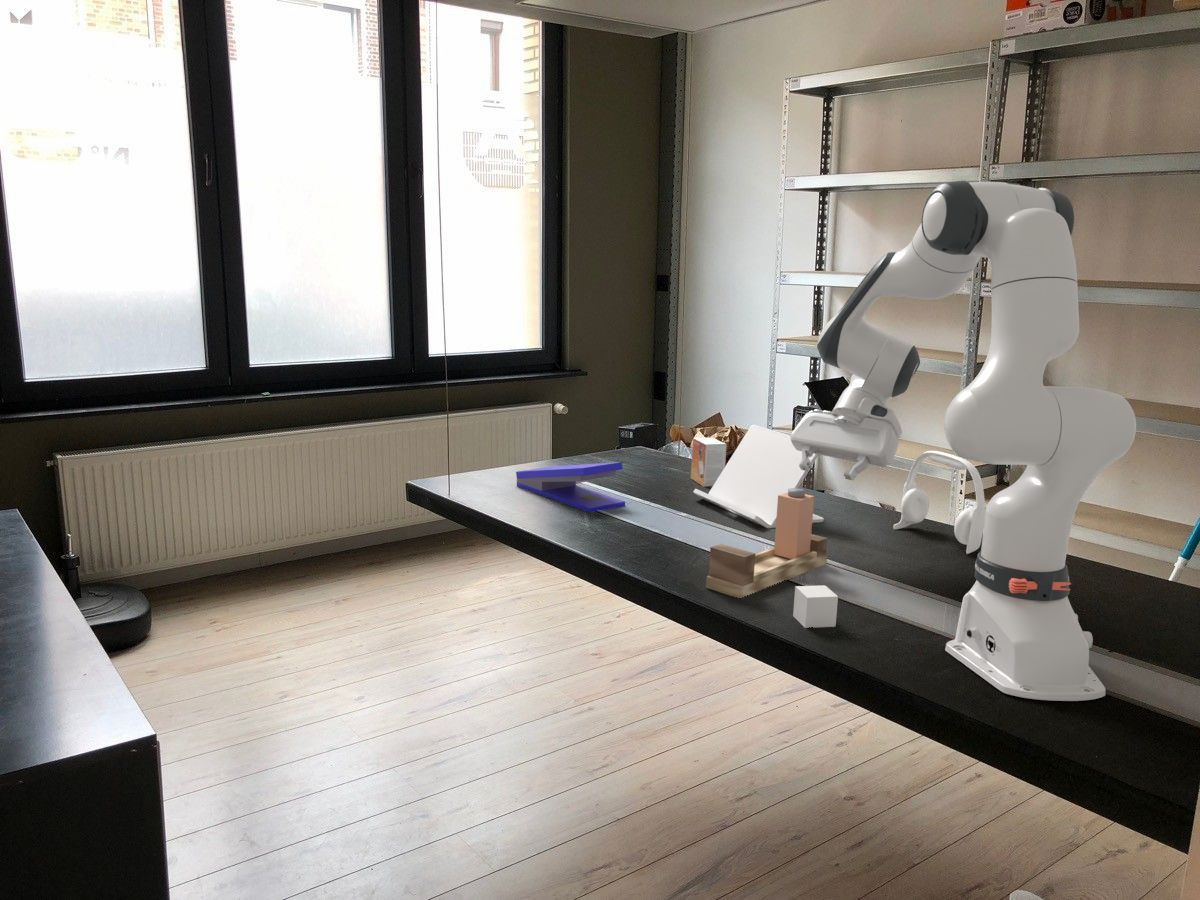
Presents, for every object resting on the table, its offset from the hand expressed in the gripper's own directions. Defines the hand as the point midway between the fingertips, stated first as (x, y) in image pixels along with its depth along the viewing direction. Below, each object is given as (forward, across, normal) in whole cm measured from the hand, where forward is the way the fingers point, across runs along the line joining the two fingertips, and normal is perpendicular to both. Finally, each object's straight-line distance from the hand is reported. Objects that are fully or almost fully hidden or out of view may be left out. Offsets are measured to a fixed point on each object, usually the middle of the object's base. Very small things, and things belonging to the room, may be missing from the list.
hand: (825, 473), depth 180 cm
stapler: (+15, -62, +8) cm, 65 cm away
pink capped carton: (+16, 0, +3) cm, 17 cm away
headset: (-8, +10, +31) cm, 34 cm away
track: (+23, 0, 0) cm, 23 cm away
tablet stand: (-1, -27, +24) cm, 36 cm away
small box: (-10, -50, +33) cm, 60 cm away
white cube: (+32, +17, -9) cm, 38 cm away
